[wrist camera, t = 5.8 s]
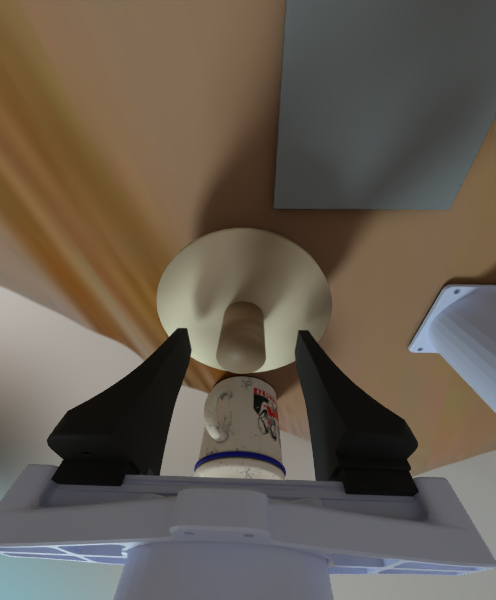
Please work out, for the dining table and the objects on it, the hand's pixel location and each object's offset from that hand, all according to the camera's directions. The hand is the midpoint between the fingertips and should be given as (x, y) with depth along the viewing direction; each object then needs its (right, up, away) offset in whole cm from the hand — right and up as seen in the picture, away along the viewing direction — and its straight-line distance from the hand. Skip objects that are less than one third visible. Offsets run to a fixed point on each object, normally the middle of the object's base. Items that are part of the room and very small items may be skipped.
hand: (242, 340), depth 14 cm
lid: (0, +2, +2) cm, 2 cm away
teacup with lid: (-1, -9, +14) cm, 16 cm away
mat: (+8, +14, -2) cm, 17 cm away
